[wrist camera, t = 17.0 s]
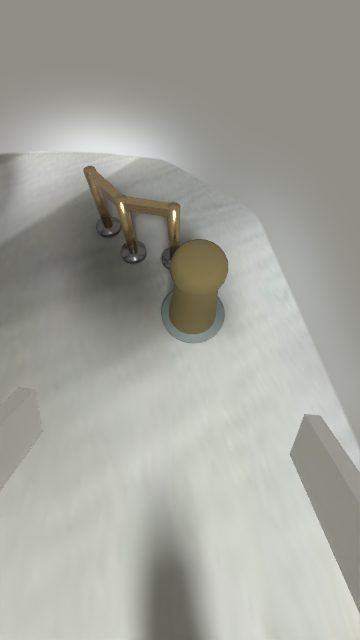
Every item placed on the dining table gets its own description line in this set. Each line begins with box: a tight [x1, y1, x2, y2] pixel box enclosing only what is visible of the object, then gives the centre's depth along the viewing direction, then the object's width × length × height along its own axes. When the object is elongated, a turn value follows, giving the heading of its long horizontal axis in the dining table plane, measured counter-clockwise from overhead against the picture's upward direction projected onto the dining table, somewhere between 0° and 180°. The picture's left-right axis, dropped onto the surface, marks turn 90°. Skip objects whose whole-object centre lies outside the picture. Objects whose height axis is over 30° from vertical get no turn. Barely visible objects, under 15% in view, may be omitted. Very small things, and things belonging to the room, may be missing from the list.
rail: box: [83, 166, 180, 269], centre depth 31 cm, size 15×8×9 cm, turn 80°
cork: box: [169, 239, 228, 335], centre depth 24 cm, size 6×6×11 cm
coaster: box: [162, 291, 225, 343], centre depth 30 cm, size 8×8×1 cm
